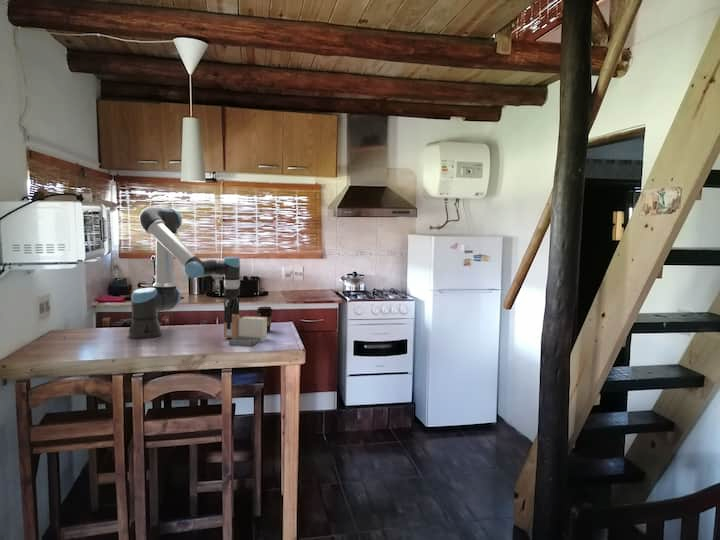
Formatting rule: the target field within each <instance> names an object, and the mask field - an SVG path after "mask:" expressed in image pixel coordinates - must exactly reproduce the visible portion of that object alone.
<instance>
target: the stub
mask: <svg viewBox="0 0 720 540" xmlns="http://www.w3.org/2000/svg"><path fill="white" fill-rule="evenodd" d="M240 317H241V316H240V313H239V314H232V321H231V322H232V336H228V335H226V323H225V322H224V321H223V338H226V339H227V338H229V339H233V338H235V337H237V336H239V318H240Z"/></svg>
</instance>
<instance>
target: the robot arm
mask: <svg viewBox="0 0 720 540" xmlns="http://www.w3.org/2000/svg"><path fill="white" fill-rule="evenodd" d="M138 220H139V224H140V226H141V228H142V229H143V230H144V231H145V232H146V233H147V234H148V235H149V236H152V237H154V238H155V282H154V283H153V284H152V287H144V288H143V287H141V288H138V289H134V291H132V293H131V299H130V300H131V319H132V320H131V323H130V327H129V330H128V332H127V333H128V337H129V338H131V339H150V338H157V337H160V336H161V335H162V328H161V326H160V322H159V320H158V313H160V312H165V311H170V310H173V309H175V308H177V307H178V306H179V304H180V302H181V300H182V296H181V292H180V291H179V289H178V288H177V284H176V283H175V282H174V259H176V260H177V261H178V262H179V263H180V264H181V265H182V266H183V267H184V272H185V273H186V274H185V275H186V276H188V277H189V278H194V279H195V278H196V279H197V278H203V277H210V276H223V287H224V289H223V296H224V297H226V301H224V302H223V307H224V308H223V310H224V313H223V323H224V322H225V323H226V335H228V336H232V322H231V321H232V314H240V298H238V297H239V296H240V295H241V294H240V292H241V289H240V287H241V286H240V285H241V281H240V280H241V278H240V276H241V275H240V274H241V264H240V262H241V261H240V257H239V256H224V258H223V260H220V259H219V260H218V259H205V260H201V259H200V258H199V257H198V256H197V255H196V254H195V253H194V252H192V250H191V249H190V248H189V247H188V246H187V245H186V244H184V243H183V242H182V241H181V240H180V238H179V237H178V236H176V235H177V234H178V229H180V227H181V226H182V223H183V222H182V215H181V213H180V212H179V211H178V210H177V209H176V208H173V207H167V206H164V207H163V206H153V205H151V206H147V207H145V208H144V209H142V210H141V211H140V214H139V217H138Z"/></svg>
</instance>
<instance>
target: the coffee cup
mask: <svg viewBox="0 0 720 540" xmlns="http://www.w3.org/2000/svg"><path fill="white" fill-rule="evenodd" d="M272 312H274V311H273V309H272V307H271V306H259V307H257V309H256V317H267V333H269V332H271V325H272V319H273V314H272Z"/></svg>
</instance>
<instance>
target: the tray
mask: <svg viewBox="0 0 720 540" xmlns="http://www.w3.org/2000/svg"><path fill="white" fill-rule="evenodd" d="M259 342H260V341H259V337H246V336H237V337H235V338H230V339H229V345H230V346H240V347H241V346H242V347H253V346H255V345H256V344H258V343H259Z"/></svg>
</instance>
